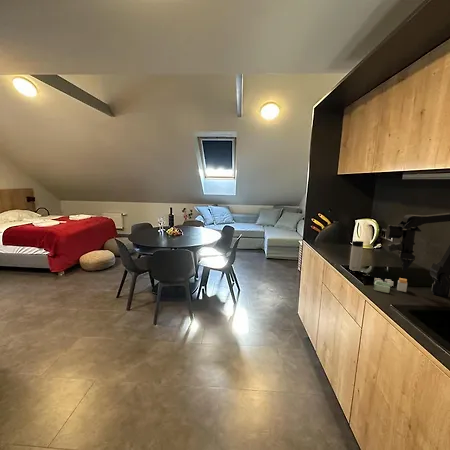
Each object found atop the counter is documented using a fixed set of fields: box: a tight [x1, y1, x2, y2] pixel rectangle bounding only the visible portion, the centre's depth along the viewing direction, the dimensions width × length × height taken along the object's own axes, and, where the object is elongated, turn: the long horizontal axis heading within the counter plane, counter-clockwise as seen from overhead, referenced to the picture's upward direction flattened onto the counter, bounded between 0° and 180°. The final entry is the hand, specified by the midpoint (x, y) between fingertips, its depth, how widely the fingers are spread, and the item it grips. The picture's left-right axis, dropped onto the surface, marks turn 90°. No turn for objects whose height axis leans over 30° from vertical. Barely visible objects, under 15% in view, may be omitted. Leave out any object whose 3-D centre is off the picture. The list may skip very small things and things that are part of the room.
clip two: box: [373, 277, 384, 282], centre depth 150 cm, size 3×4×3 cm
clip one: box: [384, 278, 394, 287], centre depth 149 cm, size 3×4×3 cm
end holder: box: [373, 281, 391, 294], centre depth 142 cm, size 7×7×3 cm
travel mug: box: [348, 240, 364, 272], centre depth 169 cm, size 6×7×20 cm
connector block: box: [396, 277, 408, 293], centre depth 142 cm, size 4×4×6 cm
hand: (403, 268), depth 140 cm, fingers open, 9 cm apart
